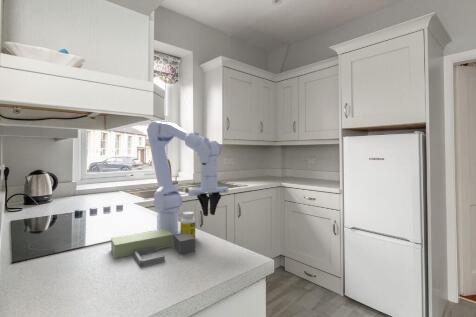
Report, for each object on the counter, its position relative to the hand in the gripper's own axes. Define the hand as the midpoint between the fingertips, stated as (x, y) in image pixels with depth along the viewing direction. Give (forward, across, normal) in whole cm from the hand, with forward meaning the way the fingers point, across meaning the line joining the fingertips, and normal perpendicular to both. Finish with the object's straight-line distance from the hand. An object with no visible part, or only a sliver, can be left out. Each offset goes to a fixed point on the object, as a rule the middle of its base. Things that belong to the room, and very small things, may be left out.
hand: (209, 214), depth 87 cm
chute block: (+11, -9, 0) cm, 14 cm away
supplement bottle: (+11, -4, +9) cm, 14 cm away
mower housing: (+10, -20, +4) cm, 23 cm away
